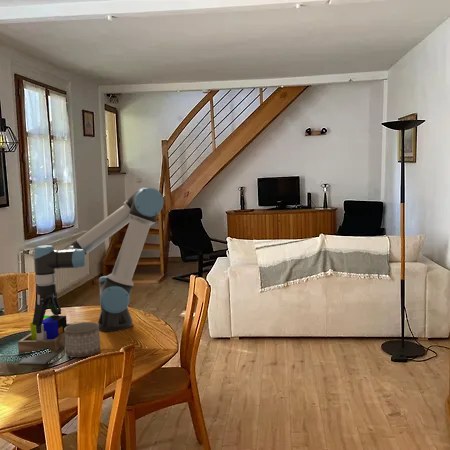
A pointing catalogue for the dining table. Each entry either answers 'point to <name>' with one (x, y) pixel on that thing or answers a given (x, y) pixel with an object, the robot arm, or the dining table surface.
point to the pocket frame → (41, 343)
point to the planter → (82, 339)
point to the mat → (38, 359)
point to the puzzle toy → (50, 327)
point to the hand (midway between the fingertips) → (48, 335)
